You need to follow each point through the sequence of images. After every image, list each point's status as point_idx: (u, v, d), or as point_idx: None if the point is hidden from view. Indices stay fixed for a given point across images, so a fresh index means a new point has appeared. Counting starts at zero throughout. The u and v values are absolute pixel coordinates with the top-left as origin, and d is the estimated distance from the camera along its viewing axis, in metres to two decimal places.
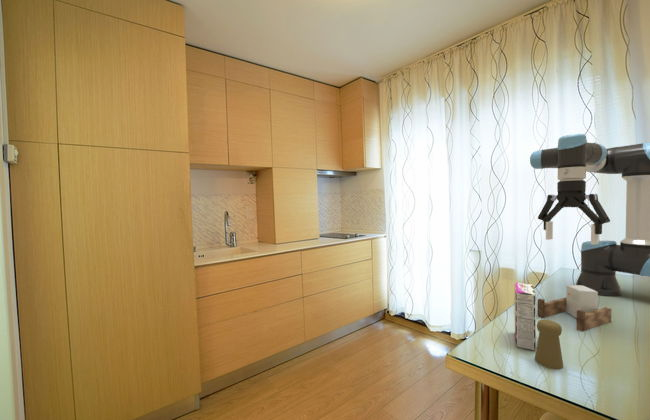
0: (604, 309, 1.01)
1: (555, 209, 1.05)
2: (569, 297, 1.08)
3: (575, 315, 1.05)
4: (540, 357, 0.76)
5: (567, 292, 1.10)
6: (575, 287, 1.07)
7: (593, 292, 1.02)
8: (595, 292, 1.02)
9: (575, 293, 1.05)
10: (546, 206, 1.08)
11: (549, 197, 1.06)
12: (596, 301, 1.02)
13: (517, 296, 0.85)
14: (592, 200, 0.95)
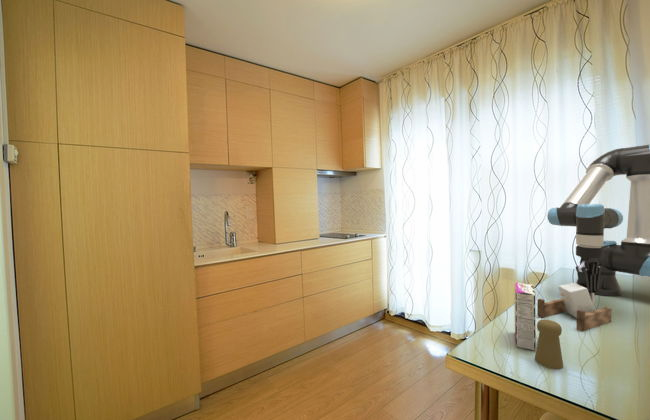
0: (604, 309, 1.01)
1: None
2: (564, 298, 1.08)
3: (574, 315, 1.05)
4: (540, 357, 0.76)
5: (561, 293, 1.10)
6: (566, 287, 1.07)
7: (583, 290, 1.02)
8: (585, 289, 1.02)
9: (567, 294, 1.06)
10: None
11: None
12: (589, 298, 1.02)
13: (517, 296, 0.85)
14: None
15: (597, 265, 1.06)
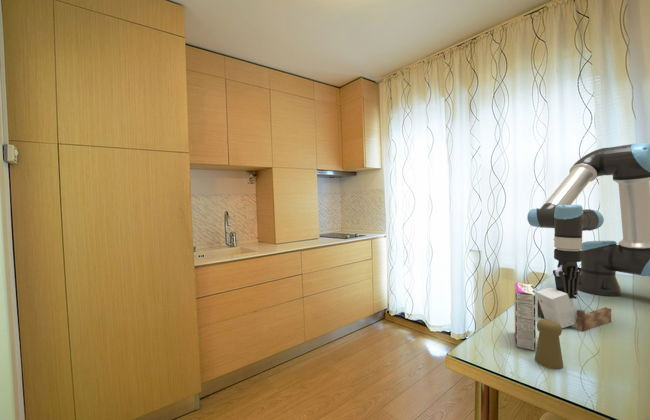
0: (604, 309, 1.01)
1: None
2: (543, 304, 1.02)
3: None
4: (540, 357, 0.76)
5: (539, 299, 1.04)
6: (545, 293, 1.01)
7: (564, 295, 0.96)
8: (565, 295, 0.96)
9: (548, 301, 0.99)
10: None
11: None
12: (569, 303, 0.96)
13: (517, 296, 0.85)
14: None
15: (575, 269, 1.01)
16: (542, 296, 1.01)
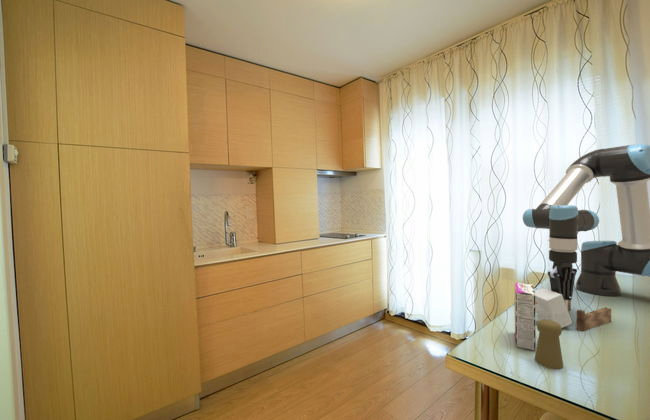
0: (604, 309, 1.01)
1: None
2: (538, 306, 1.01)
3: None
4: (540, 357, 0.76)
5: None
6: (539, 295, 1.00)
7: (558, 296, 0.96)
8: (560, 296, 0.96)
9: (542, 303, 0.98)
10: None
11: None
12: (564, 304, 0.96)
13: (517, 296, 0.85)
14: None
15: (570, 270, 1.00)
16: (536, 297, 1.00)
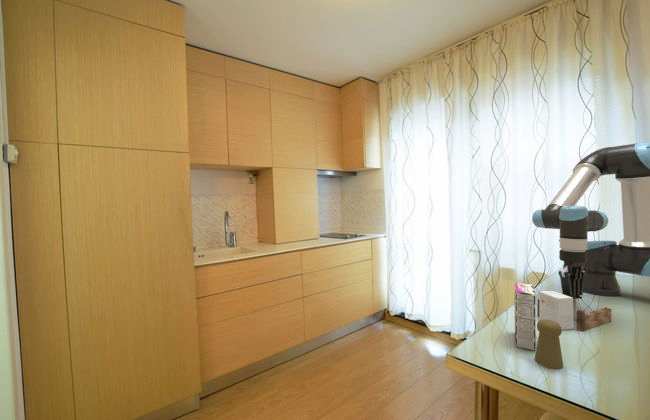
0: (604, 309, 1.01)
1: None
2: (544, 305, 1.01)
3: None
4: (540, 357, 0.76)
5: (540, 299, 1.03)
6: (549, 294, 1.00)
7: (569, 299, 0.96)
8: (571, 298, 0.96)
9: (551, 301, 0.98)
10: None
11: None
12: (572, 308, 0.96)
13: (517, 296, 0.85)
14: None
15: (581, 270, 1.02)
16: (546, 296, 1.00)
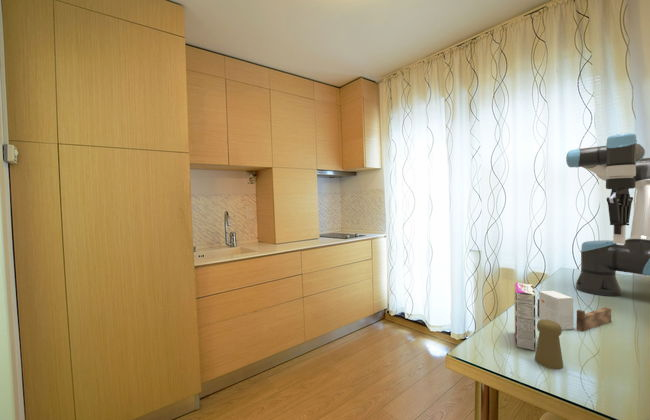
0: (604, 309, 1.01)
1: None
2: (544, 305, 1.01)
3: None
4: (540, 357, 0.76)
5: (540, 299, 1.03)
6: (549, 294, 1.00)
7: (569, 299, 0.96)
8: (571, 298, 0.96)
9: (551, 301, 0.98)
10: None
11: None
12: (572, 308, 0.96)
13: (517, 296, 0.85)
14: None
15: (628, 196, 1.04)
16: (546, 296, 1.00)
